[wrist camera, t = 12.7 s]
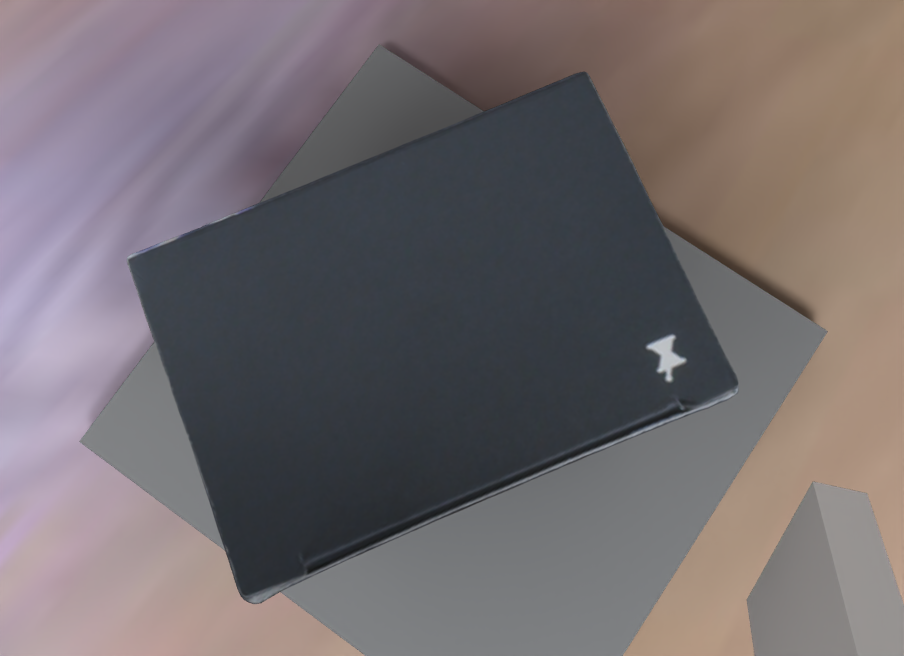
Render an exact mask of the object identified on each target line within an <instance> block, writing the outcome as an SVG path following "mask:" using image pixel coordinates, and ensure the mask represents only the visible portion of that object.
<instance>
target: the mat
mask: <svg viewBox="0 0 904 656" xmlns="http://www.w3.org/2000/svg"><path fill="white" fill-rule="evenodd" d="M482 112H484V111H482V110H481V109H479V108H478V107H476V106H475V105H473V104H472V103H470V102H468V101H467V100H465V99H464V98H462V97H461V96H459V95H457V94H456V93H454V92H453V91H451V90H450V89H448V88H447V87H445V86H443V85H442V84H440V83H439V82H437V81H436V80H434V79H432V78H431V77H429V76H428V75H426V74H425V73H423V72H421V71H420V70H418V69H417V68H415V67H414V66H412V65H411V64H409V63H407V62H406V61H404V60H403V59H401V58H400V57H398V56H396V55H395V54H393V53H392V52H390V51H389V50H387V49H386V48H384V47H382V46H381V45H378V46H377V48H376V49H375V50H374V52H373V53H372V54H371V56H370V57H369V58H368V60H367V61H366V62H365V64H364V65H363V66H362V68H361V69H360V70H359V72H358V73H357V74H356V76H355V77H354V78H353V79H352V81H351V82H350V83H349V85H348V86H347V87H346V89H345V90H344V91H343V93H342V94H341V95H340V97H339V98H338V99H337V101H336V102H335V103H334V105H333V106H332V107H331V109H330V110H329V111H328V113H327V114H326V115H325V117H324V118H323V119H322V121H321V122H320V123H319V125H318V126H317V127H316V129H315V130H314V131H313V132H312V134H311V135H310V136H309V138H308V139H307V140H306V142H305V143H304V144H303V146H302V147H301V148H300V150H299V151H298V152H297V154H296V155H295V156H294V158H293V159H292V160H291V162H290V163H289V164H288V166H287V167H286V168H285V170H284V171H283V172H282V174H281V175H280V176H279V178H278V179H277V180H276V182H275V183H274V184H273V185H272V187H271V188H270V189H269V191H268V192H267V193H266V195H265V196H264V197H263V199H262V200H261V201H260V203H261V202H263V201H266V200H268V199H271V198H273V197H276V196H278V195H280V194H283V193H285V192H288V191H290V190H293V189H295V188H298V187H300V186H303V185H306V184H308V183H310V182H313V181H315V180H317V179H320V178H322V177H325V176H327V175H330V174H332V173H335V172H337V171H339V170H342V169H344V168H347V167H349V166H352V165H354V164H357V163H359V162H361V161H364V160H366V159H369V158H371V157H374V156H376V155H379V154H381V153H384V152H386V151H389V150H391V149H394V148H396V147H399V146H401V145H403V144H406V143H408V142H411V141H413V140H416V139H418V138H421V137H423V136H426V135H428V134H431V133H433V132H436V131H438V130H441V129H443V128H446V127H448V126H451V125H453V124H455V123H458V122H460V121H463V120H465V119H467V118H469V117H472V116H474V115H476V114H479V113H482ZM663 227H664V226H663ZM664 229H665V231H666V233H667V235H668V237H669V240H670V242H671V244H672V246H673V248H674V250H675V252H676V254H677V256H678V258H679V260H680V263H681V265H682V267H683V269H684V271H685V273H686V275H687V277H688V279H689V281H690V283H691V285H692V287H693V290H694V292H695V294H696V296H697V298H698V300H699V302H700V304H701V306H702V308H703V310H704V312H705V314H706V316H707V318H708V320H709V322H710V324H711V326H712V328H713V330H714V332H715V334H716V336H717V338H718V340H719V342H720V344H721V346H722V349H723V351H724V352H725V354H726V356H727V357H728V360H729V362H730V364H731V366H732V367H733V369H734V371H735V372H736V375H737V378H738V381H739V385H738V387H739V392H738V394H736V395H735V396H733V397H732V398H730V399H729V400H727V401H724V402H722V403H719V404H717V405H715V406H712V407H710V408H708V409H705V410H702V411H699V412H696V413H694V414H691V415H689V416H686V417H683V418H681V419H678V420H676V421H673V422H671V423H668V424H666V425H663V426H661V427H659V428H656V429H654V430H651V431H648V432H646V433H643V434H641V435H638V436H636V437H633V438H631V439H628V440H626V441H624V442H621V443H619V444H616V445H614V446H611V447H609V448H607V449H605V450H602V451H600V452H597V453H595V454H592V455H590V456H587V457H585V458H583V459H581V460H578V461H576V462H574V463H571V464H569V465H566V466H564V467H561V468H559V469H557V470H555V471H552V472H550V473H547V474H545V475H542V476H540V477H538V478H535V479H533V480H531V481H529V482H526V483H524V484H522V485H520V486H517V487H515V488H513V489H510V490H508V491H506V492H503V493H501V494H498V495H496V496H494V497H491V498H489V499H486V500H484V501H482V502H479V503H477V504H475V505H473V506H470V507H468V508H466V509H464V510H461V511H459V512H456V513H454V514H452V515H449V516H447V517H444V518H442V519H440V520H437V521H435V522H433V523H430V524H428V525H426V526H424V527H422V528H420V529H418V530H415V531H413V532H410V533H408V534H406V535H403V536H401V537H399V538H396V539H394V540H392V541H389V542H387V543H385V544H383V545H381V546H379V547H376V548H374V549H372V550H369V551H367V552H365V553H363V554H360V555H358V556H356V557H353V558H351V559H349V560H346V561H344V562H342V563H340V564H338V565H336V566H333V567H331V568H329V569H327V570H325V571H323V572H321V573H318V574H316V575H314V576H312V577H310V578H308V579H306V580H304V581H302V582H300V583H297V584H295V585H293V586H291V587H289V588H287V589H285V590H283V591H281V593H282V594H284V595H285V596H286V597H288V598H289V599H290V600H292V601H293V602H294V603H296V604H297V605H298V606H300V607H301V608H302V609H304V610H305V611H306V612H308V613H309V614H310V615H312V616H313V617H314V618H316V619H317V620H318V621H320V622H321V623H322V624H324V625H325V626H326V627H328V628H329V629H330V630H332V631H333V632H334V633H336V634H337V635H338V636H340V637H341V638H342V639H344V640H345V641H346V642H348V643H349V644H351V645H352V646H353V647H355V648H356V649H357V650H359V651H360V652H361V653H363V654H364V655H365V656H623V654H624V653H625V651H626V650H627V648H628V646H629V645H630V643H631V642H632V640H633V638H634V637H635V635H636V634H637V632H638V631H639V629H640V627H641V626H642V624H643V623H644V621H645V620H646V618H647V616H648V615H649V613H650V612H651V610H652V608H653V607H654V605H655V604H656V602H657V601H658V599H659V597H660V596H661V594H662V593H663V591H664V589H665V588H666V586H667V585H668V583H669V582H670V580H671V578H672V577H673V575H674V574H675V572H676V571H677V569H678V567H679V566H680V564H681V563H682V561H683V559H684V558H685V556H686V555H687V553H688V552H689V550H690V548H691V547H692V545H693V544H694V542H695V540H696V539H697V537H698V536H699V534H700V533H701V531H702V529H703V528H704V526H705V525H706V523H707V521H708V520H709V518H710V517H711V515H712V514H713V512H714V510H715V509H716V507H717V506H718V504H719V503H720V501H721V499H722V498H723V496H724V495H725V493H726V491H727V490H728V488H729V487H730V485H731V484H732V482H733V480H734V479H735V477H736V476H737V474H738V472H739V471H740V469H741V468H742V466H743V465H744V463H745V461H746V460H747V458H748V457H749V455H750V454H751V452H752V450H753V449H754V447H755V446H756V444H757V442H758V441H759V439H760V438H761V436H762V435H763V433H764V431H765V430H766V428H767V427H768V425H769V423H770V422H771V420H772V419H773V417H774V416H775V414H776V412H777V411H778V409H779V408H780V406H781V404H782V403H783V401H784V400H785V398H786V397H787V395H788V393H789V392H790V390H791V389H792V387H793V386H794V384H795V382H796V381H797V379H798V378H799V376H800V374H801V373H802V371H803V370H804V368H805V367H806V365H807V363H808V362H809V360H810V359H811V357H812V355H813V354H814V352H815V351H816V349H817V348H818V346H819V344H820V343H821V341H822V340H823V338H824V337H825V335H826V333H827V332H828V331H826V330H825V329H823V328H822V327H820V326H819V325H817V324H816V323H814V322H812V321H811V320H809V319H808V318H806V317H805V316H803V315H801V314H800V313H798V312H797V311H795V310H794V309H792V308H790V307H789V306H787V305H786V304H784V303H783V302H781V301H780V300H778V299H776V298H775V297H773V296H772V295H770V294H769V293H767V292H765V291H764V290H762V289H761V288H759V287H758V286H756V285H755V284H753V283H751V282H750V281H748V280H747V279H745V278H744V277H742V276H740V275H739V274H737V273H736V272H734V271H733V270H731V269H730V268H728V267H726V266H725V265H723V264H722V263H720V262H719V261H717V260H715V259H714V258H712V257H711V256H709V255H708V254H706V253H704V252H703V251H701V250H700V249H698V248H697V247H695V246H694V245H692V244H690V243H689V242H687V241H686V240H684V239H683V238H681V237H679V236H678V235H676V234H675V233H673V232H672V231H670V230H669V229H667V228H665V227H664ZM79 442H80V443H82V444H83V445H84V446H86V447H87V448H89V449H90V450H91V451H93V452H94V453H95V454H97V455H98V456H99V457H101V458H102V459H103V460H105V461H106V462H107V463H109V464H110V465H111V466H113V467H114V468H115V469H117V470H118V471H119V472H121V473H122V474H123V475H125V476H126V477H127V478H129V479H130V480H131V481H133V482H134V483H135V484H137V485H138V486H139V487H141V488H142V489H143V490H145V491H146V492H147V493H149V494H150V495H151V496H153V497H154V498H155V499H157V500H158V501H159V502H161V503H162V504H163V505H165V506H166V507H167V508H169V509H170V510H171V511H173V512H174V513H175V514H177V515H178V516H179V517H181V518H182V519H183V520H185V521H186V522H187V523H189V524H190V525H191V526H193V527H194V528H195V529H197V530H198V531H199V532H201V533H202V534H203V535H205V536H206V537H207V538H209V539H210V540H211V541H213V542H214V543H215V544H217V545H218V546H220V547H221V548H222V549H224V550H225V548H224V546H223V543H222V540H221V537H220V534H219V531H218V528H217V525H216V522H215V518H214V515H213V512H212V508H211V505H210V502H209V499H208V496H207V493H206V490H205V487H204V484H203V481H202V478H201V475H200V472H199V469H198V466H197V463H196V460H195V457H194V454H193V451H192V448H191V445H190V441H189V439H188V436H187V433H186V430H185V428H184V425H183V422H182V419H181V416H180V414H179V411H178V408H177V405H176V402H175V400H174V397H173V394H172V391H171V388H170V385H169V382H168V379H167V376H166V374H165V371H164V368H163V365H162V362H161V359H160V356H159V353H158V350H157V347H156V344H155V342H154V343H153V345H152V346H151V347H150V348H149V350H148V351H147V352H146V354H145V355H144V356H143V358H142V359H141V360H140V362H139V363H138V364H137V366H136V367H135V368H134V370H133V371H132V372H131V374H130V375H129V376H128V378H127V379H126V380H125V382H124V383H123V384H122V386H121V387H120V388H119V390H118V391H117V392H116V394H115V395H114V396H113V398H112V399H111V400H110V402H109V403H108V404H107V405H106V407H105V408H104V409H103V411H102V412H101V413H100V415H99V416H98V417H97V419H96V420H95V421H94V423H93V424H92V425H91V427H90V428H89V429H88V431H87V432H86V433H85V435H84V436H83V437H82V439H81V440H80V441H79Z"/></svg>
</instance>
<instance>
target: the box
mask: <svg viewBox="0 0 904 656" xmlns="http://www.w3.org/2000/svg"><path fill="white" fill-rule="evenodd" d="M127 263H128V266H129V269H130V272H131V275H132V278H133V280H134V283H135V286H136V289H137V292H138V295H139V298H140V301H141V304H142V307H143V310H144V313H145V316H146V319H147V322H148V325H149V328H150V331H151V333H152V336H153V339H154V342H155V344H156V347H157V350H158V353H159V356H160V359H161V362H162V365H163V368H164V371H165V374H166V376H167V379H168V382H169V385H170V388H171V391H172V394H173V397H174V400H175V402H176V405H177V408H178V411H179V414H180V416H181V419H182V422H183V425H184V428H185V430H186V433H187V436H188V439H189V441H190V445H191V448H192V451H193V454H194V457H195V460H196V463H197V466H198V469H199V472H200V475H201V478H202V481H203V484H204V487H205V490H206V493H207V496H208V499H209V502H210V505H211V508H212V512H213V515H214V518H215V522H216V525H217V528H218V531H219V534H220V537H221V540H222V543H223V546H224V548H225V551H226V554H227V557H228V560H229V563H230V567H231V570H232V573H233V576H234V579H235V583H236V586H237V589H238V591H239V593H240V595H241V597H242V598H243V599H244V600H245V601H247V602H249V603H252V604H259V603H262V602H264V601H265V600H267V599H269V598H270V597H272V596H274V595H276V594H277V593H279V592H281V591H283V590H285V589H287V588H289V587H291V586H293V585H295V584H297V583H300V582H302V581H304V580H306V579H308V578H310V577H312V576H314V575H316V574H318V573H321V572H323V571H325V570H327V569H329V568H331V567H333V566H336V565H338V564H340V563H342V562H344V561H346V560H349V559H351V558H353V557H356V556H358V555H360V554H363V553H365V552H367V551H369V550H372V549H374V548H376V547H379V546H381V545H383V544H385V543H387V542H389V541H392V540H394V539H396V538H399V537H401V536H403V535H406V534H408V533H410V532H413V531H415V530H418V529H420V528H422V527H424V526H426V525H428V524H430V523H433V522H435V521H437V520H440V519H442V518H444V517H447V516H449V515H452V514H454V513H456V512H459V511H461V510H464V509H466V508H468V507H470V506H473V505H475V504H477V503H479V502H482V501H484V500H486V499H489V498H491V497H494V496H496V495H498V494H501V493H503V492H506V491H508V490H510V489H513V488H515V487H517V486H520V485H522V484H524V483H526V482H529V481H531V480H533V479H535V478H538V477H540V476H542V475H545V474H547V473H550V472H552V471H555V470H557V469H559V468H561V467H564V466H566V465H569V464H571V463H574V462H576V461H578V460H581V459H583V458H585V457H587V456H590V455H592V454H595V453H597V452H600V451H602V450H605V449H607V448H609V447H611V446H614V445H616V444H619V443H621V442H624V441H626V440H628V439H631V438H633V437H636V436H638V435H641V434H643V433H646V432H648V431H651V430H654V429H656V428H659V427H661V426H663V425H666V424H668V423H671V422H673V421H676V420H678V419H681V418H683V417H686V416H689V415H691V414H694V413H696V412H699V411H702V410H705V409H708V408H710V407H712V406H715V405H717V404H719V403H722V402H724V401H727V400H729V399H730V398H732V397H733V396H735V395H736V394H738V392H739V387H738V385H739V381H738V378H737V375H736V372H735V371H734V369H733V367H732V366H731V364H730V362H729V360H728V357H727V356H726V354H725V352H724V351H723V349H722V346H721V344H720V342H719V340H718V338H717V336H716V334H715V332H714V330H713V328H712V326H711V324H710V322H709V320H708V318H707V316H706V314H705V312H704V310H703V308H702V306H701V304H700V302H699V300H698V298H697V296H696V294H695V292H694V290H693V287H692V285H691V283H690V281H689V279H688V277H687V275H686V273H685V271H684V269H683V267H682V265H681V263H680V260H679V258H678V256H677V254H676V252H675V250H674V248H673V246H672V244H671V242H670V240H669V237H668V235H667V233H666V231H665V229H664V227H663V225H662V223H661V221H660V219H659V217H658V215H657V213H656V211H655V209H654V207H653V205H652V203H651V201H650V199H649V197H648V194H647V192H646V190H645V188H644V186H643V184H642V182H641V179H640V177H639V175H638V173H637V171H636V169H635V166H634V164H633V162H632V160H631V158H630V156H629V154H628V152H627V150H626V148H625V146H624V144H623V142H622V140H621V138H620V136H619V134H618V132H617V130H616V128H615V126H614V124H613V122H612V120H611V118H610V116H609V114H608V112H607V110H606V108H605V106H604V104H603V102H602V100H601V98H600V96H599V94H598V92H597V90H596V88H595V86H594V84H593V82H592V80H591V78H590V76H589V75H588V73H586V72H580V73H576V74H574V75H571V76H569V77H566V78H564V79H562V80H559V81H557V82H554V83H552V84H550V85H547V86H545V87H542V88H540V89H537V90H535V91H533V92H530V93H528V94H525V95H523V96H520V97H518V98H516V99H513V100H511V101H509V102H506V103H504V104H501V105H499V106H497V107H494V108H492V109H489V110H487V111H484V112H482V113H479V114H476V115H474V116H472V117H469V118H467V119H465V120H463V121H460V122H458V123H455V124H453V125H451V126H448V127H446V128H443V129H441V130H438V131H436V132H433V133H431V134H428V135H426V136H423V137H421V138H418V139H416V140H413V141H411V142H408V143H406V144H403V145H401V146H399V147H396V148H394V149H391V150H389V151H386V152H384V153H381V154H379V155H376V156H374V157H371V158H369V159H366V160H364V161H361V162H359V163H357V164H354V165H352V166H349V167H347V168H344V169H342V170H339V171H337V172H335V173H332V174H330V175H327V176H325V177H322V178H320V179H317V180H315V181H313V182H310V183H308V184H306V185H303V186H300V187H298V188H295V189H293V190H290V191H288V192H285V193H283V194H280V195H278V196H276V197H273V198H271V199H268V200H266V201H263V202H261V203H258V204H256V205H253V206H251V207H249V208H246V209H244V210H241V211H239V212H236V213H234V214H231V215H229V216H226V217H224V218H222V219H219V220H217V221H214V222H212V223H209V224H207V225H204V226H203V227H201V228H198V229H196V230H193V231H190V232H188V233H185V234H183V235H180V236H177V237H175V238H172V239H169V240H167V241H164V242H161V243H159V244H156V245H154V246H152V247H149V248H147V249H144V250H141V251H139V252H136V253H133V254H131V255H130V256H128V258H127Z"/></svg>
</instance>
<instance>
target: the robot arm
mask: <svg viewBox="0 0 904 656" xmlns="http://www.w3.org/2000/svg"><path fill="white" fill-rule="evenodd" d="M747 606H748V613H749V620H750V627H751V633H752V640H753V647H754V654H755V656H904V604H903V601H902V598H901V595H900V592H899V589H898V586H897V583H896V580H895V577H894V574H893V571H892V568H891V565H890V562H889V558H888V555H887V552H886V549H885V546H884V543H883V540H882V537H881V534H880V531H879V528H878V525H877V522H876V519H875V516H874V513H873V510H872V507H871V504H870V501H869V498H868V495H867V493H863V492H859V491H854V490H850V489H845V488H841V487H836V486H832V485H827V484H822V483H818V482H812V484H811V486H810V487H809V489H808V491H807V493H806V495H805V496H804V498H803V500H802V502H801V503H800V505H799V507H798V509H797V511H796V512H795V514H794V516H793V518H792V520H791V521H790V523H789V525H788V527H787V529H786V530H785V532H784V534H783V536H782V537H781V539H780V541H779V543H778V545H777V546H776V548H775V550H774V552H773V554H772V555H771V557H770V559H769V561H768V563H767V564H766V566H765V568H764V570H763V571H762V573H761V575H760V577H759V579H758V580H757V582H756V584H755V586H754V588H753V589H752V591H751V593H750V595H749V597H748V598H747Z"/></svg>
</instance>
